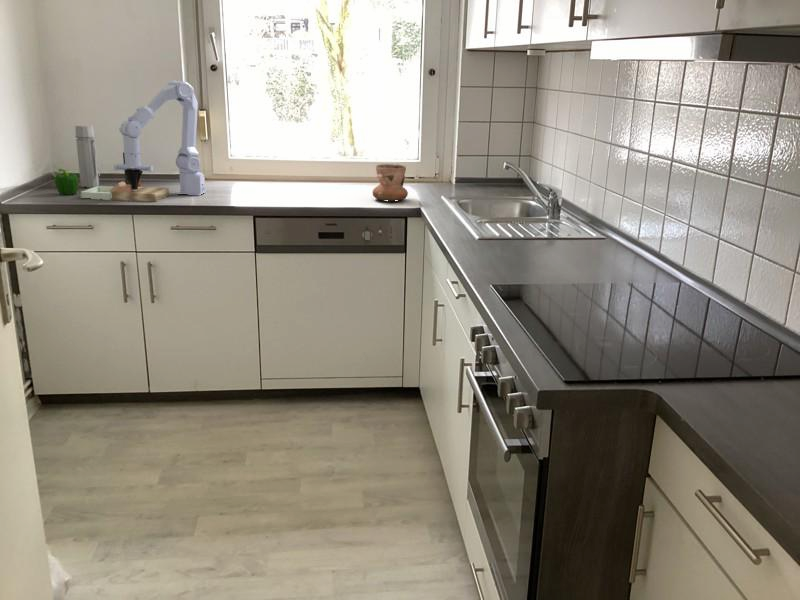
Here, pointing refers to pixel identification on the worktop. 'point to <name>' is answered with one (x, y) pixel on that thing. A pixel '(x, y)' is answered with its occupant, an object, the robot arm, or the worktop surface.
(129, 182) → the deodorant
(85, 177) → the water bottle
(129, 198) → the board
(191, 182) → the robot arm
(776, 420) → the worktop surface
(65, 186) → the bell pepper
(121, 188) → the tile
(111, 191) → the tile
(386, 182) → the brown clay vase
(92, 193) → the tray
